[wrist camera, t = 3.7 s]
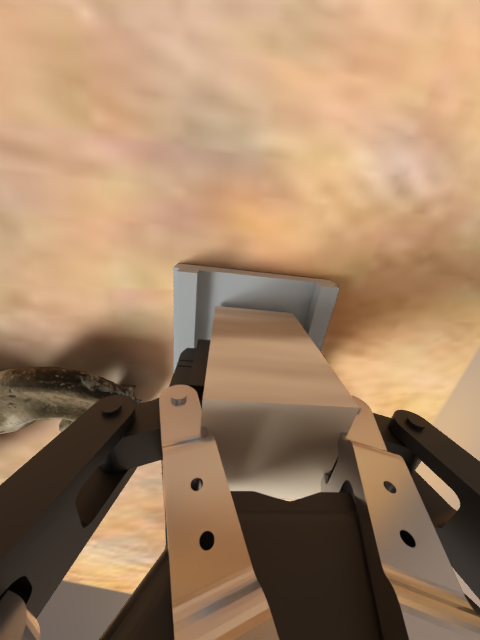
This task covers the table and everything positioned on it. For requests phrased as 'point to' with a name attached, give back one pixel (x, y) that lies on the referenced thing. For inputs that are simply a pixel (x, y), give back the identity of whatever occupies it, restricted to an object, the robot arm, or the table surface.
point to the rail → (246, 300)
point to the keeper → (272, 403)
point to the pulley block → (51, 395)
